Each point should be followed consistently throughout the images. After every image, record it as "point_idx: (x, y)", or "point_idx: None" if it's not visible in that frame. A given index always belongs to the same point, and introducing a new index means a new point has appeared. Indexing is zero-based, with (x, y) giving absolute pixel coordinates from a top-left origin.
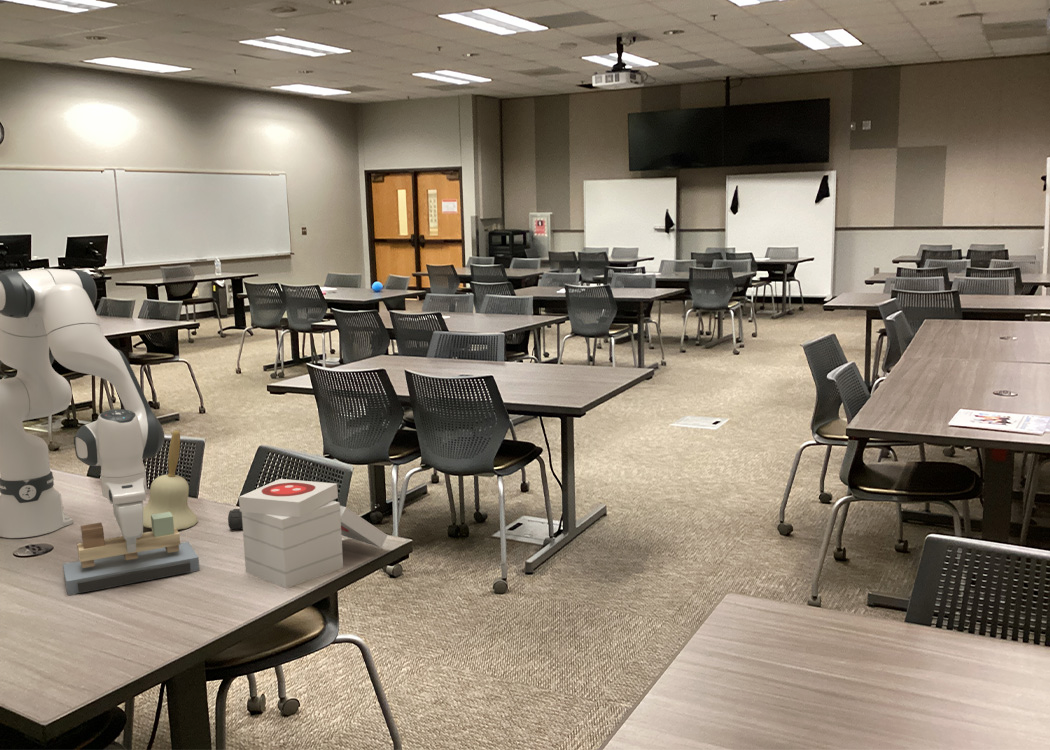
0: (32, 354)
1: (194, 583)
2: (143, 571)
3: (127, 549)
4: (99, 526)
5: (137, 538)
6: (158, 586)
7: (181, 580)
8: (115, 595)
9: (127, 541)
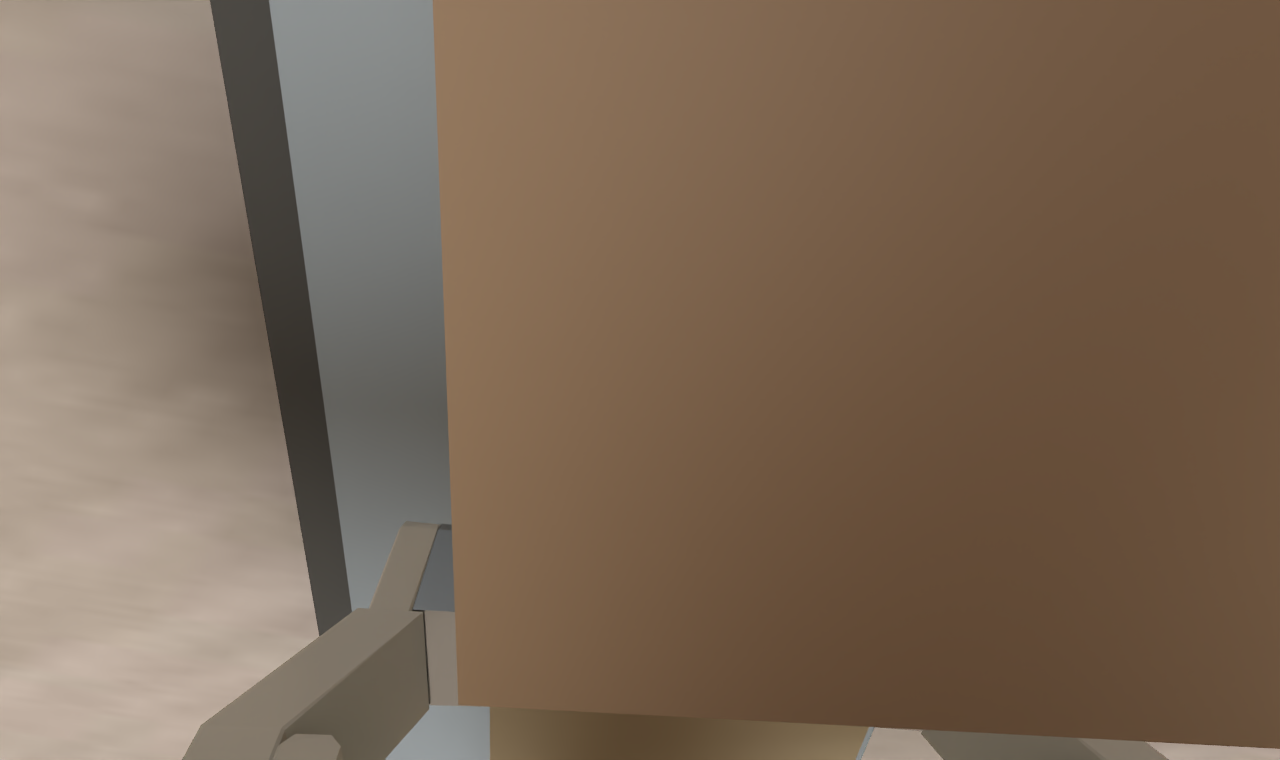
0: None
1: (137, 659)
2: (292, 473)
3: (393, 552)
4: (739, 627)
5: (607, 756)
6: (173, 471)
7: (247, 615)
8: (48, 94)
9: (274, 684)
